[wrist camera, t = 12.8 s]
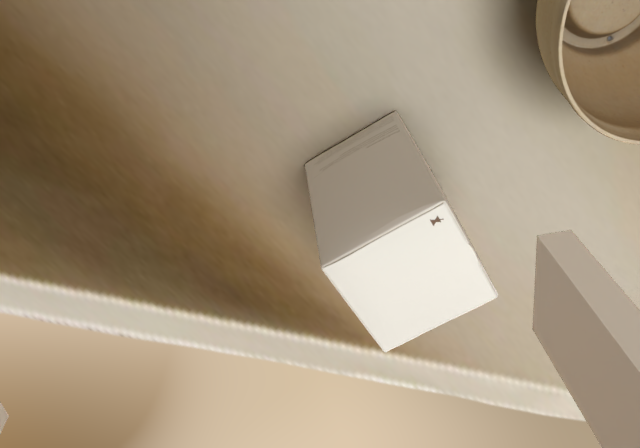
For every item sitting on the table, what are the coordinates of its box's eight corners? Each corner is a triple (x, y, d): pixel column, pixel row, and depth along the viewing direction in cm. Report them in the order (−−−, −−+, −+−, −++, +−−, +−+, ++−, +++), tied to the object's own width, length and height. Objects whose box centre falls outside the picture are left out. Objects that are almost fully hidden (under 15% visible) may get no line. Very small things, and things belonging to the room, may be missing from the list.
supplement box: (300, 162, 50) (315, 267, 37) (396, 107, 48) (447, 196, 35) (352, 240, 54) (382, 357, 41) (442, 191, 52) (503, 298, 39)
